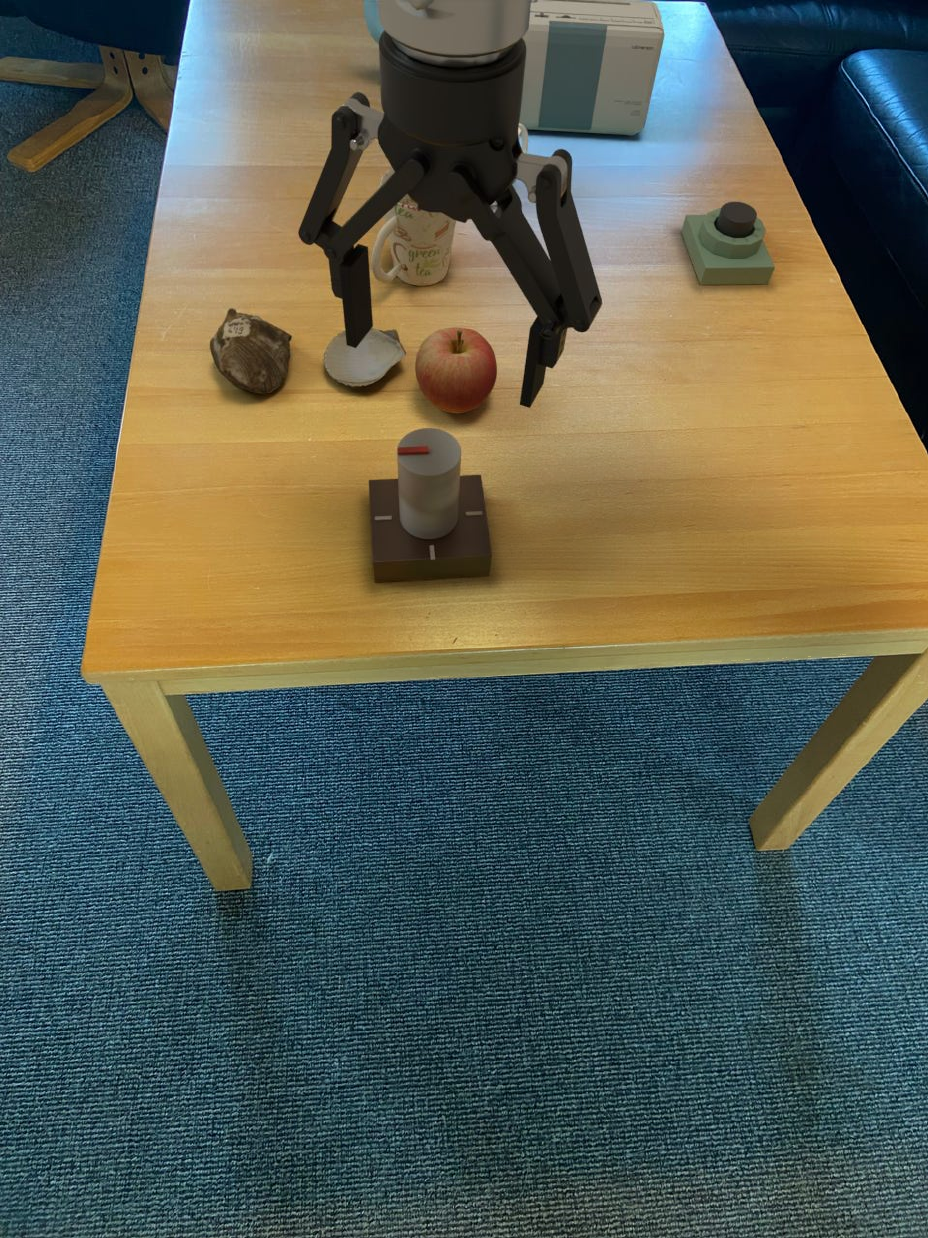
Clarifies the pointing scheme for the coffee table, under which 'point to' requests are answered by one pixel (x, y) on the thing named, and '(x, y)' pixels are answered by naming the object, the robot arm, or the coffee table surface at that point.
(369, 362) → the seashell
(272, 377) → the fossilized seashell
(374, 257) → the mug
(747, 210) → the button
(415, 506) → the dial
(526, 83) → the white and blue toaster
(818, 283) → the coffee table surface
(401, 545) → the control panel
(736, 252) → the button box
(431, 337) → the apple
